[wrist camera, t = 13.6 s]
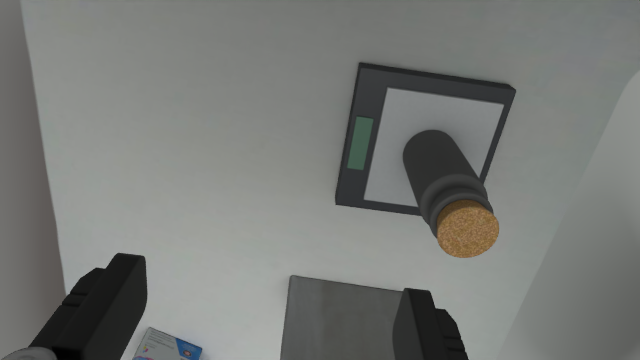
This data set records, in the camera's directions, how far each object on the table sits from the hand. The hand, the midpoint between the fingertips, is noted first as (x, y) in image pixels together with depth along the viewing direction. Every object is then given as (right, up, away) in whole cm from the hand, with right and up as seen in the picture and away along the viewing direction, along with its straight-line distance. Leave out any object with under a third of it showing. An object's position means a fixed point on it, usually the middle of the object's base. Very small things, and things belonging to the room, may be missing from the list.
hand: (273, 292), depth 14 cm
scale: (+12, +8, +36) cm, 39 cm away
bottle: (+13, +6, +34) cm, 37 cm away
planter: (+5, -14, +47) cm, 50 cm away
